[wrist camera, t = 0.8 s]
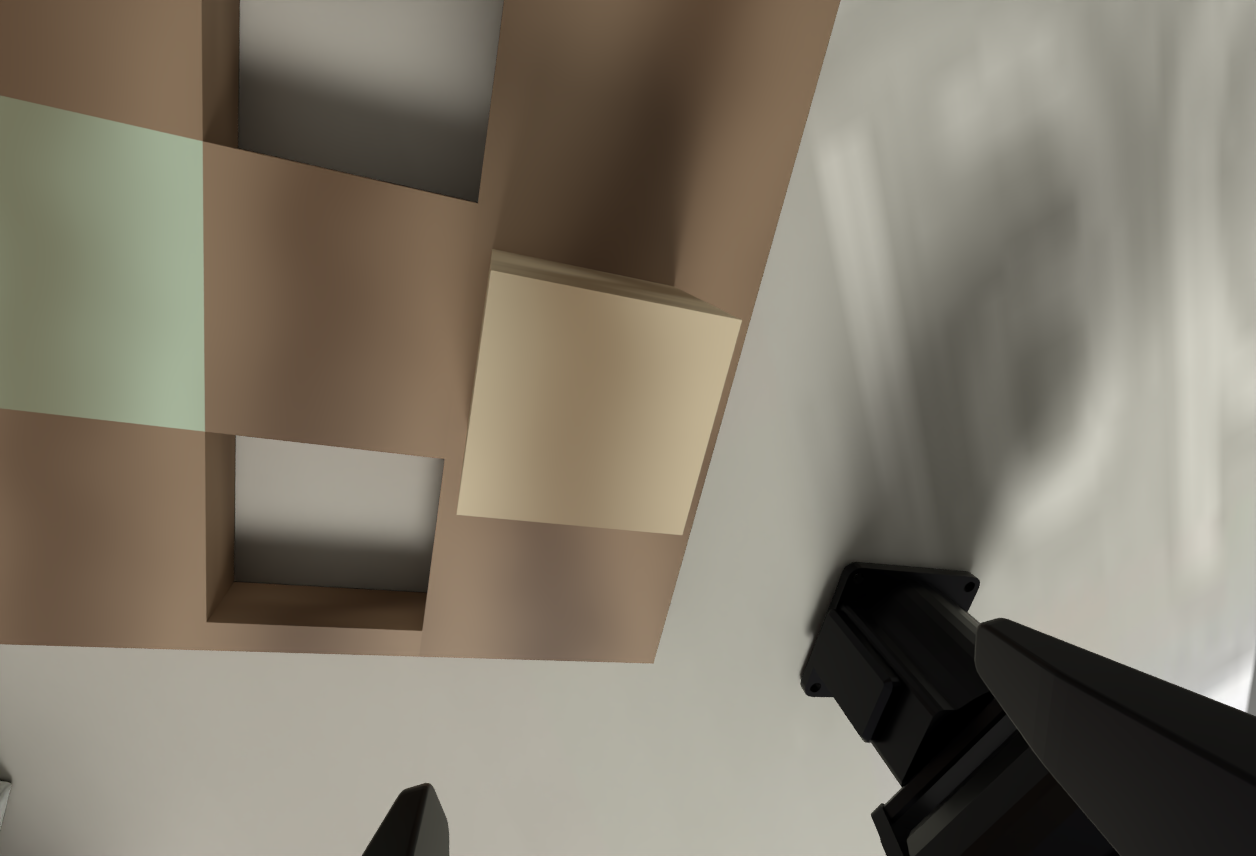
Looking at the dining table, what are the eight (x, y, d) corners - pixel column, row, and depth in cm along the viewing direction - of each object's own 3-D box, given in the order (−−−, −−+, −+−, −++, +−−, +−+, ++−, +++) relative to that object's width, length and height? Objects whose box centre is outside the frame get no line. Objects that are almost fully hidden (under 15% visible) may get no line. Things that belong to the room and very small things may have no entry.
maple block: (674, 286, 17) (742, 320, 12) (635, 450, 18) (682, 535, 14) (492, 248, 15) (490, 270, 11) (466, 428, 17) (456, 514, 12)
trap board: (806, 7, 17) (844, -16, 15) (640, 626, 23) (653, 663, 21) (-114, -327, 11) (-232, -429, 10) (7, 597, 18) (-49, 643, 16)
